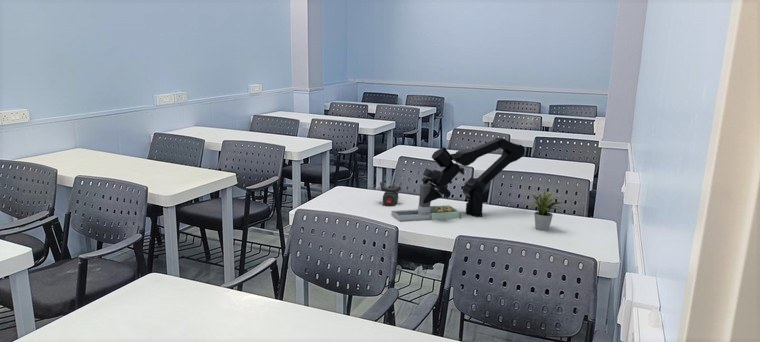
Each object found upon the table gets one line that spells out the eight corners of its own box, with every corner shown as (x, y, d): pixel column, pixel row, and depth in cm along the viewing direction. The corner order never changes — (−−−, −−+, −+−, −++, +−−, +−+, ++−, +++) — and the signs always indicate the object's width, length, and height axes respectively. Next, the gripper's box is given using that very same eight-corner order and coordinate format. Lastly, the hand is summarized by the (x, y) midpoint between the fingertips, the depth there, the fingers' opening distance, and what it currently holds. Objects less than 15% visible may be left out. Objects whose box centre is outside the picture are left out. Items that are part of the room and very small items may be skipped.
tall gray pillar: (426, 214, 229) (428, 184, 226) (430, 216, 225) (432, 186, 223) (417, 214, 227) (419, 184, 225) (421, 216, 224) (423, 186, 221)
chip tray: (448, 210, 236) (448, 205, 236) (460, 218, 225) (461, 212, 225) (421, 212, 232) (421, 206, 232) (432, 219, 221) (432, 213, 221)
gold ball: (452, 207, 232) (445, 202, 231) (456, 209, 228) (449, 205, 227) (447, 215, 232) (440, 211, 231) (451, 217, 228) (444, 213, 227)
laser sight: (402, 197, 263) (403, 177, 261) (399, 208, 241) (400, 186, 239) (383, 196, 264) (383, 176, 262) (377, 207, 242) (378, 185, 240)
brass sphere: (443, 205, 230) (435, 204, 228) (447, 209, 226) (438, 207, 225) (440, 214, 230) (432, 212, 229) (444, 218, 227) (435, 216, 225)
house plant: (533, 235, 206) (537, 193, 203) (515, 225, 219) (518, 185, 216) (566, 233, 210) (570, 192, 207) (546, 223, 223) (549, 184, 220)
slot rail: (448, 212, 236) (448, 206, 236) (460, 219, 225) (461, 213, 225) (390, 215, 228) (390, 210, 228) (400, 223, 217) (400, 217, 216)
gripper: (426, 158, 232) (401, 184, 231) (444, 165, 215) (418, 194, 213) (442, 175, 236) (418, 201, 235) (461, 184, 219) (435, 212, 217)
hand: (422, 201), depth 225 cm, fingers closed on tall gray pillar, 4 cm apart
